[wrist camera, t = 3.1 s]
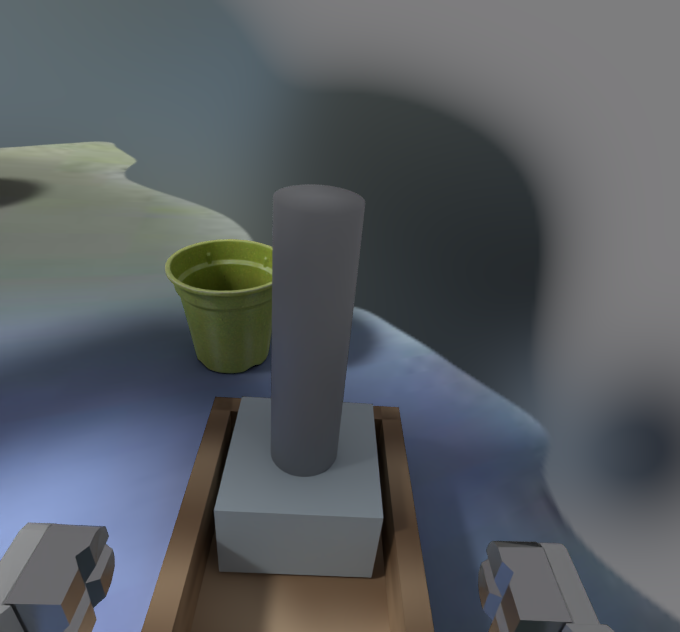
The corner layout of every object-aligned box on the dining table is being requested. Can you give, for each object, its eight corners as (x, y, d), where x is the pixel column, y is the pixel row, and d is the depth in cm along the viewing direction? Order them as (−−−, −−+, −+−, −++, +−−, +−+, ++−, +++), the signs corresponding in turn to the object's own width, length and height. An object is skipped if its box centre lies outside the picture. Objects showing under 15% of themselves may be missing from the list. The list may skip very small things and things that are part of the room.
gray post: (243, 453, 32) (234, 163, 22) (364, 460, 33) (407, 177, 23) (219, 571, 25) (190, 229, 16) (371, 577, 26) (438, 247, 16)
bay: (218, 440, 34) (215, 396, 32) (390, 449, 34) (398, 407, 32) (120, 795, 18) (102, 756, 16) (434, 801, 19) (455, 764, 17)
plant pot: (161, 385, 38) (147, 287, 34) (191, 320, 46) (183, 234, 42) (281, 391, 39) (283, 296, 34) (290, 326, 47) (293, 242, 42)
